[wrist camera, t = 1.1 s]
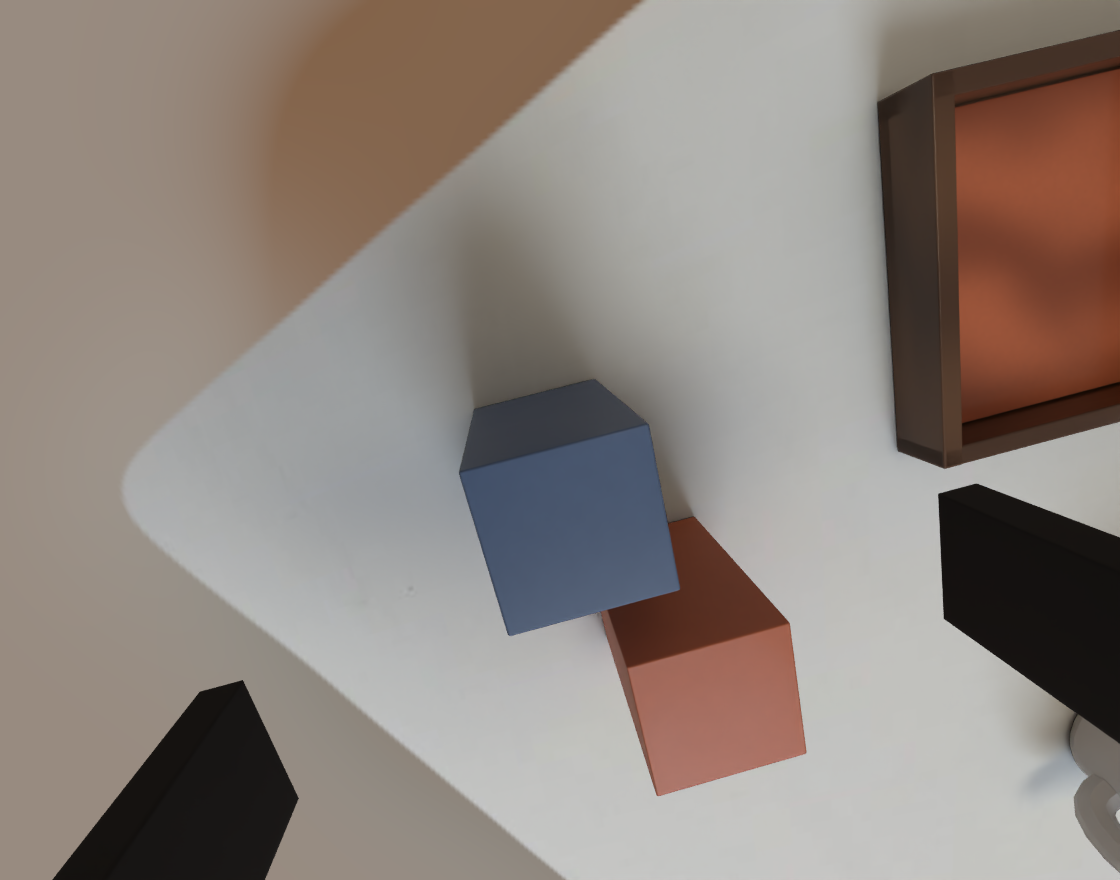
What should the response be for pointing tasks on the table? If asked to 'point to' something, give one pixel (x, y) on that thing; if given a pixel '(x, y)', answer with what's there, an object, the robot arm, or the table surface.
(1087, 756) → the cup
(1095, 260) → the tray
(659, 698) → the terracotta bar
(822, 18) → the table surface
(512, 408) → the blue bar
